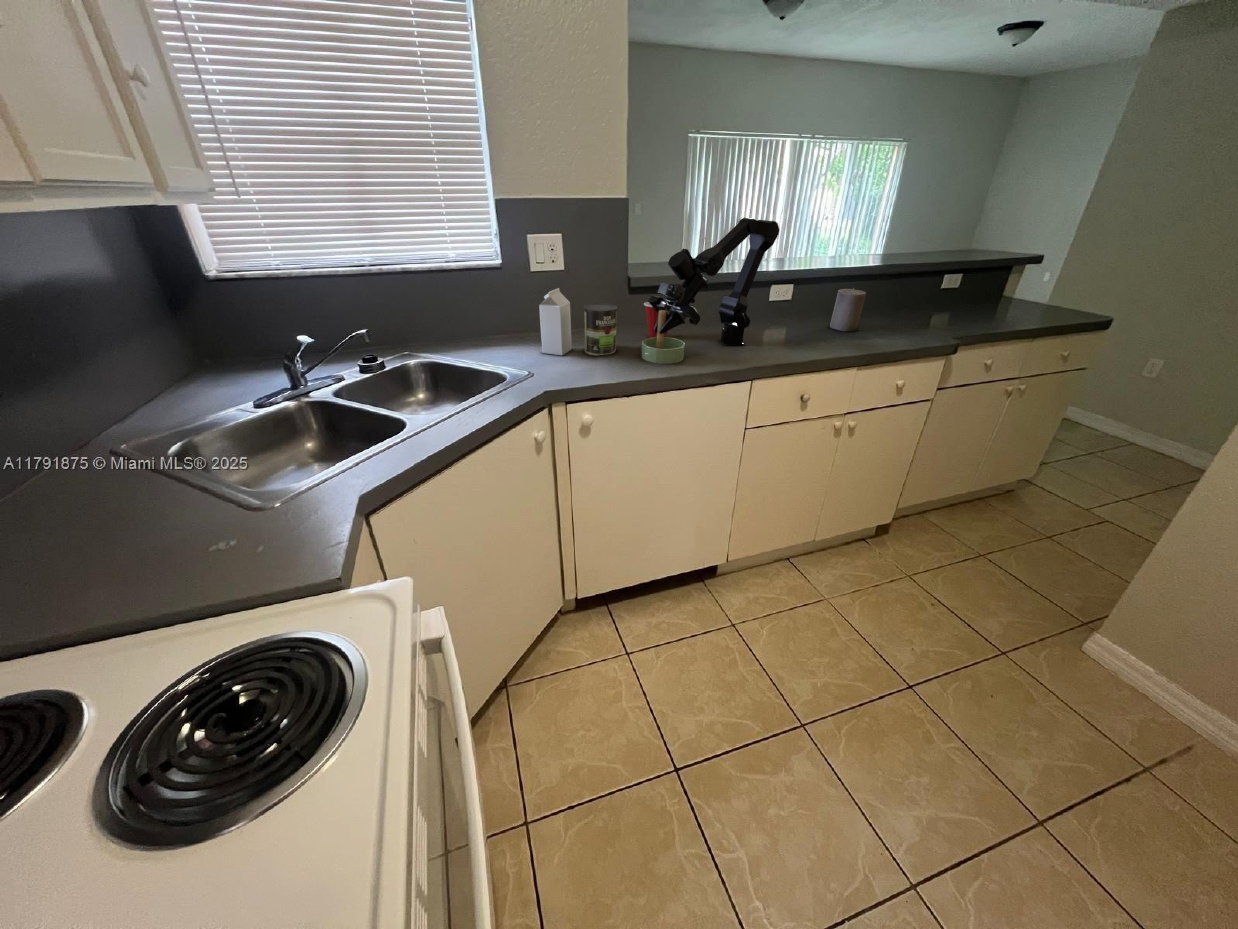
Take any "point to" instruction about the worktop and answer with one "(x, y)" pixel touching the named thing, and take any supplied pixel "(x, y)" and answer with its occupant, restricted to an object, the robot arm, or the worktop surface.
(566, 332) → the milk carton
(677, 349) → the bowl
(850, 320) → the pillar candle
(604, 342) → the coffee can
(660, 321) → the stick
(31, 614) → the worktop surface
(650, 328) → the plastic cup
